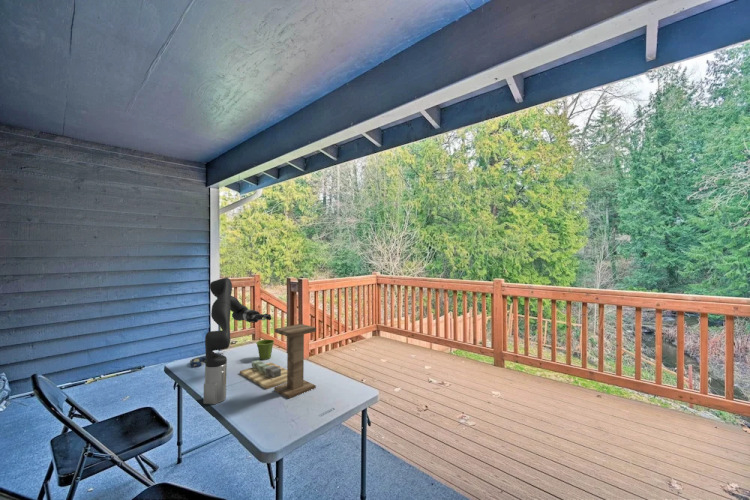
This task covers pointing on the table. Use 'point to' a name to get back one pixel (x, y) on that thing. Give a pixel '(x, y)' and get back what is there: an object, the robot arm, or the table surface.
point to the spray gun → (199, 360)
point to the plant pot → (265, 348)
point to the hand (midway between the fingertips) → (263, 319)
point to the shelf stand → (295, 360)
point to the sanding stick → (267, 369)
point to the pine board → (265, 377)
